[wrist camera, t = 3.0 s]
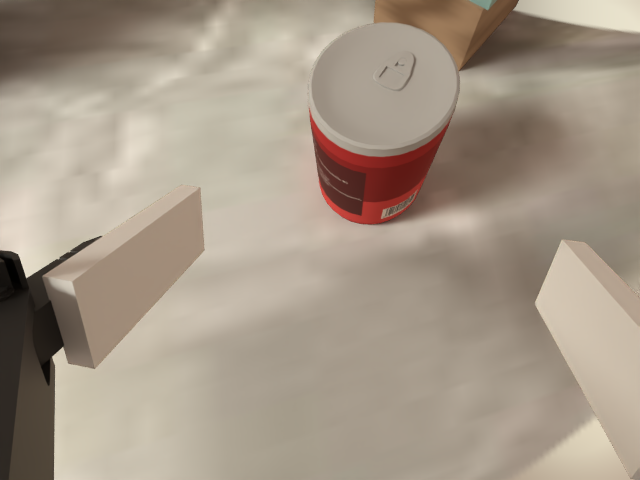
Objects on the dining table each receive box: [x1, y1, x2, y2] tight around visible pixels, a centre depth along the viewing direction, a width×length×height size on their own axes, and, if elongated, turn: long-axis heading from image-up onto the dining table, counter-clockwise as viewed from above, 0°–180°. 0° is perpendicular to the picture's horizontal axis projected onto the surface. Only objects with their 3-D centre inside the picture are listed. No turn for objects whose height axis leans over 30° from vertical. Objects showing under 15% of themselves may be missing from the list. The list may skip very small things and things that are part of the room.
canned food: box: [308, 22, 460, 224], centre depth 24 cm, size 8×8×11 cm
